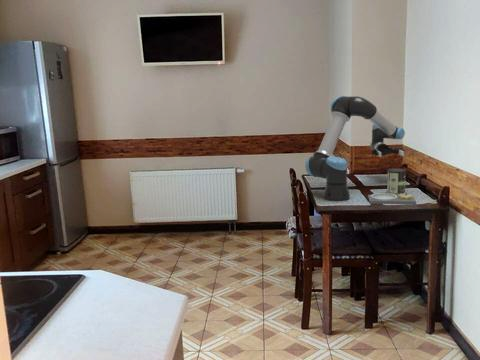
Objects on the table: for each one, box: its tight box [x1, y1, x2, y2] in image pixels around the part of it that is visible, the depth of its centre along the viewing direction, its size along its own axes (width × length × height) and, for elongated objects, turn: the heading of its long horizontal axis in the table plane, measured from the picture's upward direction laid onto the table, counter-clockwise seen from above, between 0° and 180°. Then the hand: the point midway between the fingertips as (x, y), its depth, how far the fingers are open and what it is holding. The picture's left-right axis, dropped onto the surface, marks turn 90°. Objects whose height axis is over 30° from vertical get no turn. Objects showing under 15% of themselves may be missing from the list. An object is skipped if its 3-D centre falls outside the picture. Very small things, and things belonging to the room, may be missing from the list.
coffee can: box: [386, 167, 407, 195], centre depth 274 cm, size 10×10×14 cm
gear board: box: [367, 192, 417, 205], centre depth 259 cm, size 24×14×4 cm, turn 80°
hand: (391, 154), depth 281 cm, fingers open, 13 cm apart
